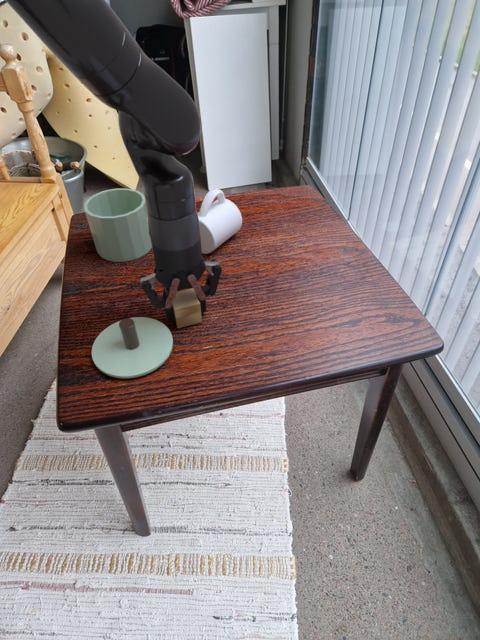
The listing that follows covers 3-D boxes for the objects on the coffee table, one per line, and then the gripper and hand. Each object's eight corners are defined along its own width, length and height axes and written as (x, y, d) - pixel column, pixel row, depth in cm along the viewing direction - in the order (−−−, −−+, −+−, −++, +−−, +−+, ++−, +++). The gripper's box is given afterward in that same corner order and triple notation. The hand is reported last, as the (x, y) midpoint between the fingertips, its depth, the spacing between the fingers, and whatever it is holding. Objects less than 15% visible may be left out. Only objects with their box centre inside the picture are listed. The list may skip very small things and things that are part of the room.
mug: (185, 247, 93) (179, 197, 84) (214, 226, 99) (210, 177, 90) (215, 259, 89) (211, 208, 81) (243, 236, 95) (242, 187, 87)
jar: (100, 267, 88) (86, 223, 81) (94, 236, 96) (81, 194, 89) (158, 254, 91) (150, 210, 84) (147, 226, 99) (139, 184, 92)
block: (177, 328, 74) (174, 309, 71) (171, 312, 77) (168, 293, 74) (202, 322, 75) (200, 303, 72) (195, 306, 78) (193, 287, 75)
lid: (97, 391, 65) (87, 365, 61) (89, 332, 74) (79, 306, 70) (182, 367, 68) (177, 341, 64) (164, 314, 77) (159, 288, 73)
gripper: (132, 258, 60) (151, 340, 72) (227, 238, 63) (230, 320, 75) (124, 231, 65) (143, 312, 77) (212, 214, 68) (218, 294, 80)
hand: (186, 315), depth 76 cm, fingers closed on block, 4 cm apart
